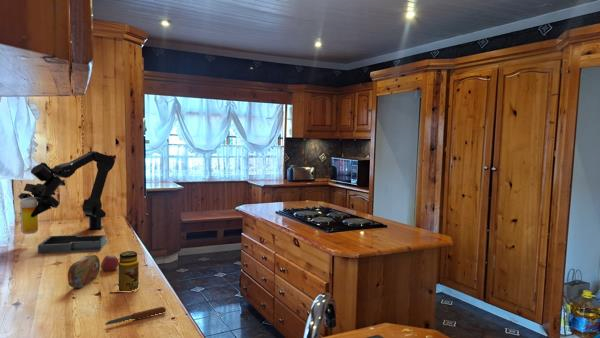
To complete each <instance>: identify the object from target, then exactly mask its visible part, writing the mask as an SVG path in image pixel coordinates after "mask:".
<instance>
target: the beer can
mask: <svg viewBox="0 0 600 338" xmlns="http://www.w3.org/2000/svg"><path fill="white" fill-rule="evenodd" d="M37 205H38V202H37V200H36V198H23V199H20V202H19V206H20V208H19V209H20V213H21V215H20V230H21V233H22V234H24V235H31V234H32V235H33V234H36V233H38V231H39V214H38V215H36V216H35V217H31V214H32V212H33V211H34V210H35V208H36V207H37Z"/></svg>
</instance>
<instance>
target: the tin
mask: <svg viewBox="0 0 600 338" xmlns="http://www.w3.org/2000/svg"><path fill="white" fill-rule="evenodd" d="M100 269H101V263H100V259H99V257H98V255H96V254H92V255H91V254H90V255H86V256H84V257H82V258H80V259H79V260H77V261H75V262H73V263H72V264H71V265H70V267H69V269H68V270H67V281H68V285H69V286H70V287H71V288H78V289H79V288H80V289H81V288H84V287H85V286H86V285H88V284H89V283H91V282H92V281H93V280H95V279H97V277H98V275H99V272H100ZM83 286H84V287H83Z"/></svg>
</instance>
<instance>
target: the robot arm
mask: <svg viewBox="0 0 600 338" xmlns="http://www.w3.org/2000/svg"><path fill="white" fill-rule="evenodd" d="M92 162H95V164H96V168H97V172H96V174H95V178H94V182H93V186H92V189H91V193H90V196H89V197H88V198H87V199H86V198H85V199H84V200H83V204H82V206H81V208H82V212H83V214H84V216H85V217H86V218H88V228H87V231H98V230H102V229H103V228H104V225H102V223H103V222H102V221H103V220H102V219H103V218H105V217H106V214H107V213H106V211H105V210H104V209H102V205H103V203H102V199H101V198H102V194H103V191H104V188H105V184H106V180H107V177H108V173H109V172H110V171H111V170H112V169H113V168H114V166H115V163H116V160H115V157H114V156H113V155H108V154H104V153H101V152H99V151H94V150H89V151H87V152H86V153H85V154H82V155H81V156H79V157H76V158H75V159H73V160H71V161H68V162H65V163H60V164H56V165H55V166H54V167H52V168H51V167H50V166H49V165H48V164H47V163H46V162H41V163H39V164H37V165H35V166H33V167H32V168H31V169H30V173H31V174H32V175H33V176H34V177H35V178H37V180H39V181H40V182H44V183H36V184H33V183H26V184H25V185H24V189H23V191H24V192H21V193H20V194H19V195H18V196H17V197H18V199H20V200H21V199H23V198H36V200H37V207H36V208H35V210H34V211H33V212H32V214H31V217H35V216H36V215H38V216H39V215H40V214H42V213H44V212H46V211H49V210H50V209H52V208H54V209H57V208H58V207H59V206H60V201H59V200H57V199H56V198H55V197H54V196H55V195H56V194H57V192H56V191H57V190H58V188H59V187H60V186H63V187H65V186H66V182H65V181H66V180H65V179H68V178H70V177H71V176H72V175H74V174H75V172H76V171H77V170H79V169H80V168H82V167H84V166H86V165H87V164H89V163H92ZM62 178H64V179H62ZM27 192H29V193H27ZM19 215H20V216H21V212H20V213H19Z"/></svg>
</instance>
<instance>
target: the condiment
mask: <svg viewBox="0 0 600 338" xmlns="http://www.w3.org/2000/svg"><path fill="white" fill-rule="evenodd" d="M118 262H119V264H118V267H117V268H118V283H115V284H114V285H115V286H116V285H118V286H119V290H120V291H132V290H135V289H137V288H138V285H139V283H140V285H142V282H139V276H140V275H139V272H140V270H139V260H138V252H136V251H133V250H128V251H123V252H120V254H119V260H118Z"/></svg>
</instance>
